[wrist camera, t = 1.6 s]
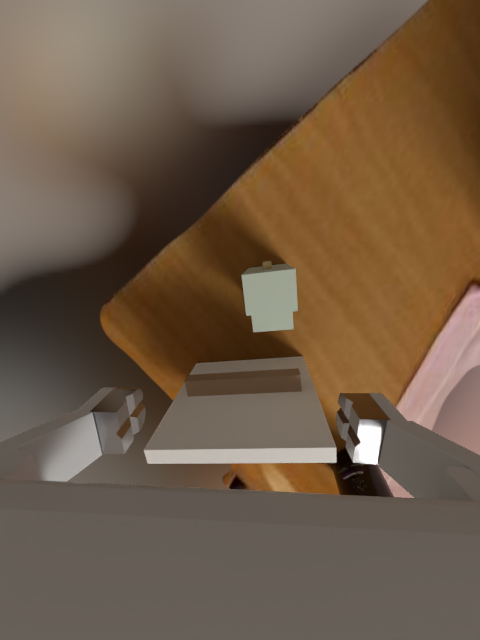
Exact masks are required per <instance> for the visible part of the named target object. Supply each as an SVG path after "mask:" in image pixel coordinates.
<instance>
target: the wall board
mask: <svg viewBox="0 0 480 640" xmlns="http://www.w3.org/2000/svg"><path fill="white" fill-rule="evenodd" d="M144 452H145V456H146V459H147V463H148V464H152V463H153V464H154V463H155V464H158V463H159V464H160V463H162V464H167V463H170V464H171V463H337V458H336V445H335V442H334V440H333V437H332V434H331V431H330V429H329V426H328V423H327V420H326V418H325V415H324V412H323V409H322V407H321V404H320V401H319V398H318V396H317V393H316V390H315V387H314V385H313V382H312V379H311V376H310V374H309V371H308V368H307V366H306V363H305V360H304V357H303V356H299V357H283V358H268V359H253V360H238V361H222V362H207V363H196V364H195V366H194V368H193V369H192V371H191V373H190V374H189V375H188V377H187V379H186V380H185V383H184V384H183V386H182V388H181V389H180V391H179V393H178V394H177V396H176V398H175V399H174V401H173V403H172V404H171V406H170V408H169V409H168V411H167V413H166V414H165V416H164V417H163V419H162V421H161V422H160V424H159V426H158V427H157V429H156V431H155V432H154V434H153V436H152V437H151V439H150V441H149V442H148V444H147V446H146V447H145V449H144Z"/></svg>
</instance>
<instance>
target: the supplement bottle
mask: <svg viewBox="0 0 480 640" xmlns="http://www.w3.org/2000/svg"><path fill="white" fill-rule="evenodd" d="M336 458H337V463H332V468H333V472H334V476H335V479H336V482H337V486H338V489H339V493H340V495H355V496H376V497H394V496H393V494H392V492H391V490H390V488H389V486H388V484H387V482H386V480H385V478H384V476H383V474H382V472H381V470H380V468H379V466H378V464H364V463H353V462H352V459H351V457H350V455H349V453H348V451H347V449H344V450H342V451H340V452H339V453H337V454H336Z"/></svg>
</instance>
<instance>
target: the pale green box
mask: <svg viewBox="0 0 480 640" xmlns="http://www.w3.org/2000/svg"><path fill="white" fill-rule="evenodd" d="M262 265H263V266H261V267H253V268H248V269H247V270H246V271H245V272H244V273H243V274H242V275H241V276H242V284H243V292H244V301H245V309H246V316H249V315H251V317H252V326H253V332H264V331H277V330H289V329H294V328H293V311H298V305H297V287H296V269H295V268H293V267H292V266H290V265H288V264H287V263H286V264H278V265H272V261H265V262H262Z"/></svg>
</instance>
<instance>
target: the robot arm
mask: <svg viewBox="0 0 480 640" xmlns="http://www.w3.org/2000/svg"><path fill="white" fill-rule="evenodd" d="M142 399H143V395H142V391H141V390H140V389H133V388H102V389H101V390H100V391H99V392H97V393H96V394H95V395H94V396H93V397H92V398H91V399H89V400H88V401H87V402H86V403H85V404H84V405H82V406H81V407H80V408H79V409H78V410H77V411H76V412H70V413H67V414H65V415H63V416H60V417H58V418H56V419H53V420H51V421H49V422H46V423H44V424H42V425H40V426H37V427H35V428H32V429H30V430H28V431H25V432H23V433H21V434H18V435H17V436H14V437H11V438H9V439H7V440H5V441H2V442H0V640H480V455H478V454H476V453H474V452H472V451H470V450H468V449H466V448H464V447H462V446H460V445H458V444H456V443H454V442H452V441H450V440H448V439H446V438H444V437H442V436H441V435H439V434H436V433H435V432H433V431H431V430H429V429H427V428H425V427H423V426H421V425H419V424H417V423H415V422H413V421H407V420H406V419H405V418H404V417H403V416H402V414H401V413H400V412H399V411H398V410H397V409H396V408H395V407H394V406H393V405H392V404H391V403H390V401H389V400H388V399H387V398H386V397H385V396H384V395H383V394H381V393H340V395H339V400H338V403H339V405H340V407H341V408H340V409H339V410H338V412H337V417H336V421H337V428H338V432H339V434H340V436H341V438H342V439H344V440H345V441H346V449H347V451H348V453H349V455H350V457H351V459H352V462H353V463H364V464H378V466H379V467H380V468H382V469H383V470H384V471H385V472H386V473H387V474H388V475H389V476H391V477H392V478H393V479H394V480H395V481H396V482H397V483H398V484H400V485H401V486H402V487H403V488H404V489H405V490H406V491H408V492H409V493H410V494H411V495H412V496H413V497H414V498H399V497H376V496H355V495H335V494H315V493H295V492H275V491H254V490H233V489H210V488H189V487H167V486H147V485H126V484H105V483H84V482H67V481H68V480H69V479H71V478H72V477H73V476H75V475H76V474H77V473H79V472H80V471H81V470H83V469H84V468H85V467H87V466H88V465H89V464H91V463H92V462H93V461H95V460H96V459H97V458H98V457H100V456H101V455H102V454H125V452H126V451H127V449H128V448H129V446H130V445H131V443H132V441H133V440H134V439H133V435H134V434H135V433H137V432H138V431H140V429H141V427H142V426H143V422H144V419H145V407H144V406H143V405H142V404H141V403H140V402H141V400H142Z"/></svg>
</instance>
